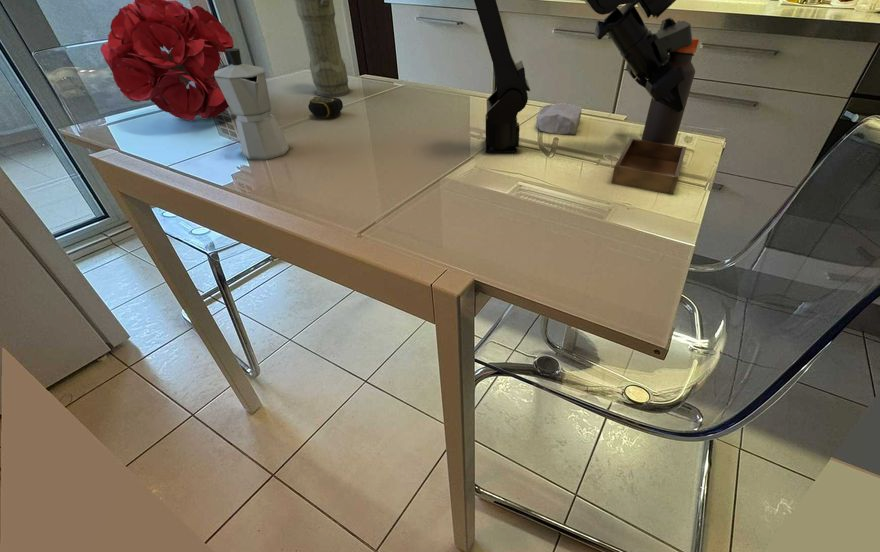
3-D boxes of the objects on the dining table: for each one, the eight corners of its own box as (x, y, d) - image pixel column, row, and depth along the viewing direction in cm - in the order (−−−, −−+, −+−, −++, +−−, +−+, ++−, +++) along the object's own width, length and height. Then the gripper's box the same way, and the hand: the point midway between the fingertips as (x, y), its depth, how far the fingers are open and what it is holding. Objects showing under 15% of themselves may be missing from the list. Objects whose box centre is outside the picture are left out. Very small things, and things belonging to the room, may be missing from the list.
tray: (611, 182, 81) (614, 165, 79) (627, 153, 92) (630, 137, 90) (673, 194, 78) (678, 177, 76) (681, 162, 89) (686, 146, 87)
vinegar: (643, 142, 97) (669, 35, 85) (674, 147, 95) (706, 38, 83) (636, 149, 92) (663, 36, 80) (669, 155, 90) (702, 40, 78)
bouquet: (200, 126, 117) (76, 92, 88) (205, 29, 112) (75, -41, 83) (273, 141, 114) (169, 111, 85) (282, 42, 109) (174, -26, 80)
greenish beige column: (334, 99, 115) (296, -81, 92) (305, 91, 120) (262, -82, 97) (360, 92, 120) (331, -80, 97) (332, 84, 125) (297, -81, 102)
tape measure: (345, 111, 108) (342, 95, 106) (336, 121, 103) (332, 104, 100) (318, 110, 108) (314, 94, 106) (307, 120, 103) (303, 102, 101)
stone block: (535, 139, 101) (579, 134, 98) (532, 117, 98) (578, 112, 96) (542, 124, 110) (583, 119, 107) (540, 104, 107) (582, 98, 105)
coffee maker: (302, 154, 88) (273, 51, 76) (259, 167, 83) (220, 58, 71) (267, 134, 95) (236, 38, 84) (225, 145, 91) (186, 44, 79)
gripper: (692, 10, 70) (733, 87, 78) (656, -5, 84) (695, 62, 92) (631, 65, 75) (676, 132, 83) (608, 42, 89) (648, 102, 97)
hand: (675, 105), depth 88 cm, fingers closed on vinegar, 7 cm apart
